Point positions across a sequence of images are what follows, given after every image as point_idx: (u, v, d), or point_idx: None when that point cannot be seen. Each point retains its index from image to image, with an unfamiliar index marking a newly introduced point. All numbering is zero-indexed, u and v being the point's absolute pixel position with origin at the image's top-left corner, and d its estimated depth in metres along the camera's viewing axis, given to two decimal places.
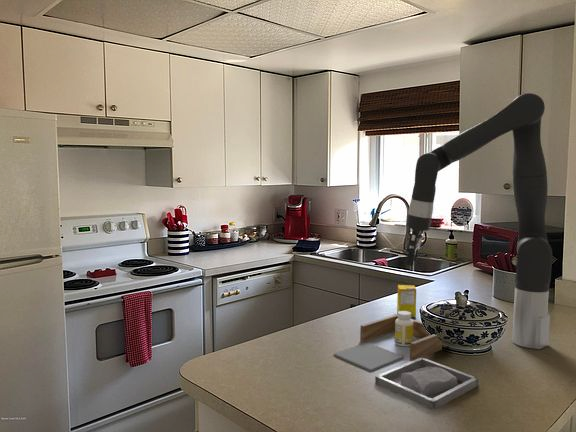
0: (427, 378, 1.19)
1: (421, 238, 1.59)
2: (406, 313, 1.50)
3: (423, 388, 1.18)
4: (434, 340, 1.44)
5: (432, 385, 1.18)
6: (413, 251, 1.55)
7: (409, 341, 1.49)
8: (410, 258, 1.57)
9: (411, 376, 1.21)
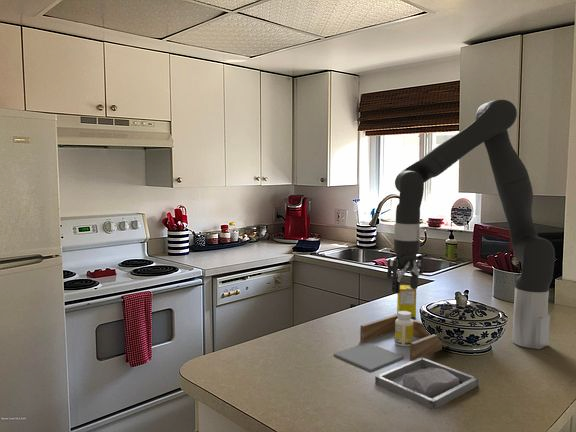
0: (429, 379, 1.19)
1: (408, 263, 1.46)
2: (406, 313, 1.50)
3: (425, 389, 1.17)
4: (434, 340, 1.44)
5: (434, 386, 1.18)
6: (392, 277, 1.44)
7: (409, 341, 1.49)
8: (394, 285, 1.46)
9: (413, 377, 1.21)
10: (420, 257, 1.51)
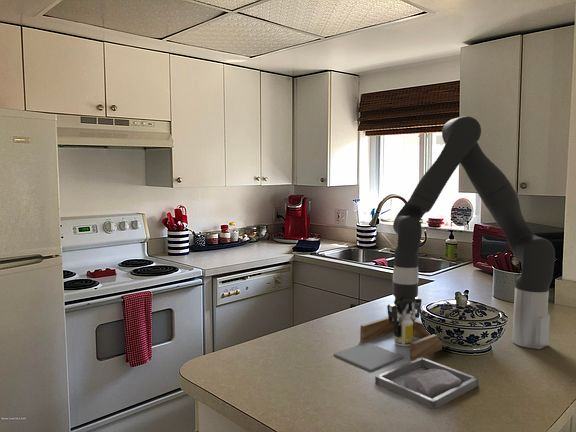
0: (432, 381, 1.18)
1: (407, 306, 1.48)
2: None
3: (428, 390, 1.16)
4: (434, 340, 1.44)
5: (436, 387, 1.17)
6: (394, 322, 1.46)
7: (409, 341, 1.49)
8: (395, 329, 1.48)
9: (415, 378, 1.20)
10: (418, 300, 1.53)
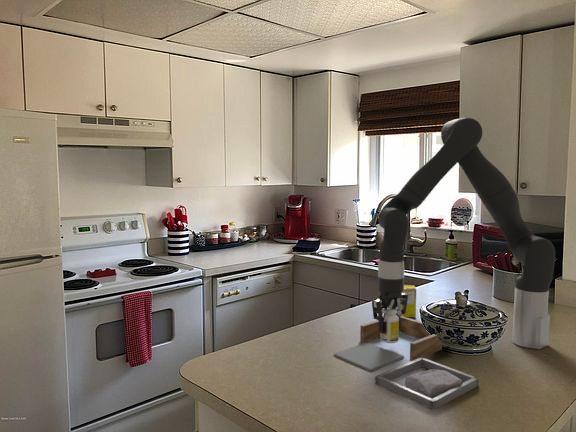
0: (433, 381, 1.18)
1: (392, 302, 1.44)
2: (392, 309, 1.45)
3: (429, 391, 1.16)
4: (434, 340, 1.44)
5: (438, 388, 1.17)
6: (379, 318, 1.42)
7: (394, 338, 1.45)
8: (380, 325, 1.44)
9: (416, 379, 1.19)
10: (405, 296, 1.49)
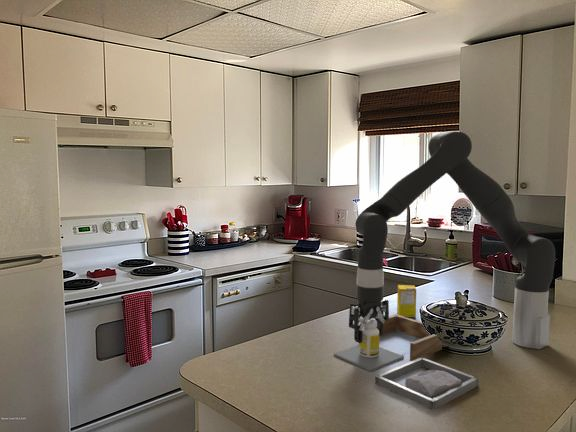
0: (434, 383, 1.17)
1: (371, 311, 1.38)
2: (372, 322, 1.40)
3: (431, 393, 1.15)
4: (434, 340, 1.44)
5: (439, 389, 1.16)
6: (354, 327, 1.35)
7: (374, 352, 1.39)
8: (356, 334, 1.37)
9: (417, 381, 1.19)
10: (385, 302, 1.43)
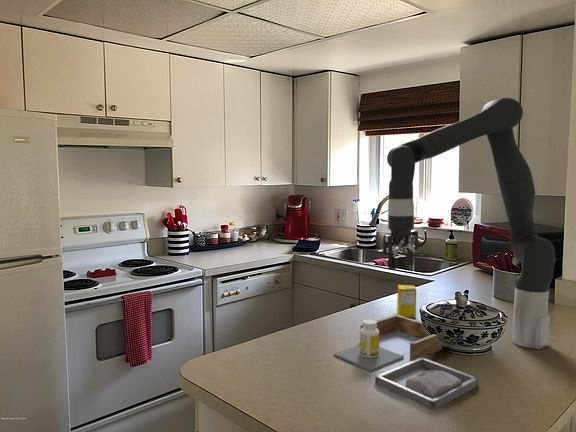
0: (436, 383, 1.17)
1: (403, 239, 1.46)
2: (371, 322, 1.40)
3: (433, 393, 1.15)
4: (434, 340, 1.44)
5: (441, 389, 1.16)
6: (388, 253, 1.44)
7: (374, 352, 1.39)
8: (390, 261, 1.46)
9: (419, 382, 1.18)
10: (415, 233, 1.51)
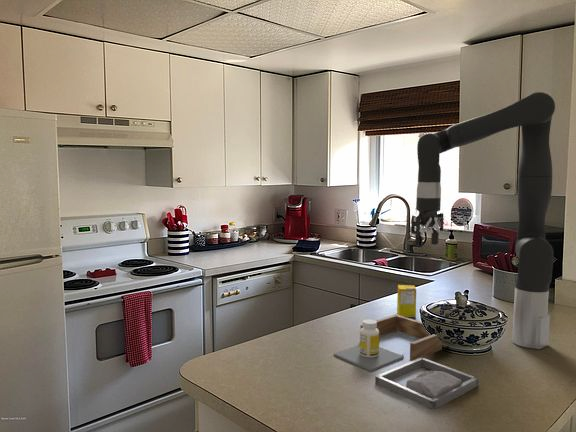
0: (437, 384, 1.16)
1: (430, 219, 1.58)
2: (371, 322, 1.40)
3: (435, 394, 1.14)
4: (434, 340, 1.44)
5: (443, 390, 1.16)
6: (416, 232, 1.56)
7: (374, 352, 1.39)
8: (417, 239, 1.58)
9: (420, 383, 1.18)
10: (440, 215, 1.63)
